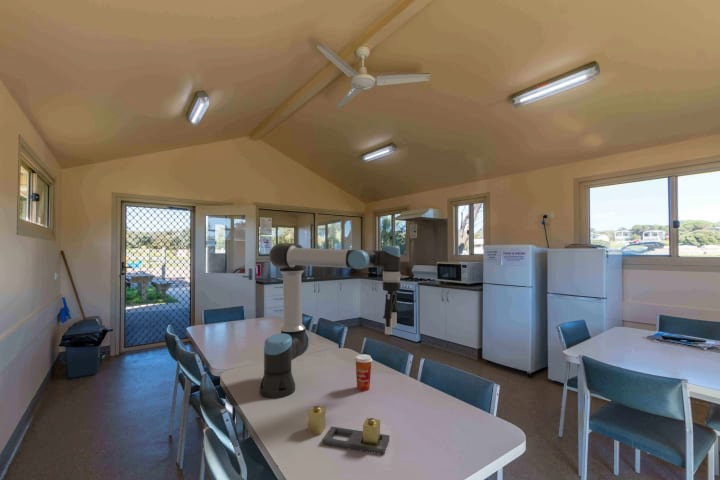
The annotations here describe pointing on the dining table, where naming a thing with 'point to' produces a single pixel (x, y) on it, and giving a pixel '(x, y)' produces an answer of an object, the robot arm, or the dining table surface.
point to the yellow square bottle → (316, 420)
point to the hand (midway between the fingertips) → (390, 330)
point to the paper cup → (363, 372)
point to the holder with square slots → (360, 437)
